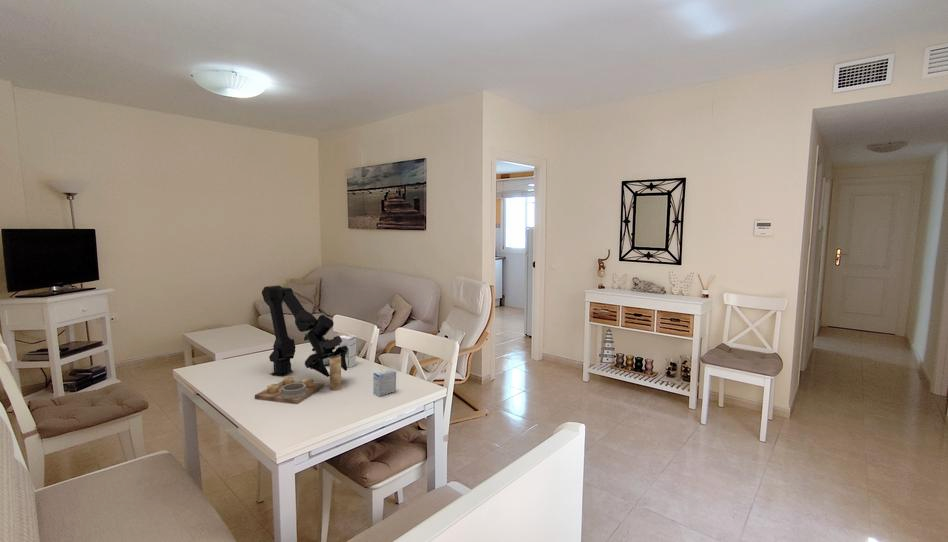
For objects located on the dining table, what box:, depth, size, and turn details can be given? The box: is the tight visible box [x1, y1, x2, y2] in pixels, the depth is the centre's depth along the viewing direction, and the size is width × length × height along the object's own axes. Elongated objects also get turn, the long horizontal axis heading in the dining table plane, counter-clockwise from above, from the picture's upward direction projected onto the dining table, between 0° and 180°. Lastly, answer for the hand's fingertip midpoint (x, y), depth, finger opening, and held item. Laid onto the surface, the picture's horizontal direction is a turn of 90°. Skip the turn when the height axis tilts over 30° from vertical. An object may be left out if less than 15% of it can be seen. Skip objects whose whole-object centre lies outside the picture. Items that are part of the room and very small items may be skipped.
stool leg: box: [329, 356, 342, 391], centre depth 174 cm, size 4×4×13 cm
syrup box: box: [338, 334, 357, 369], centre depth 204 cm, size 6×6×14 cm
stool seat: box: [254, 375, 325, 405], centre depth 169 cm, size 18×18×4 cm
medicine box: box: [372, 368, 397, 397], centre depth 171 cm, size 8×4×9 cm, turn 135°
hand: (337, 373), depth 174 cm, fingers open, 9 cm apart
